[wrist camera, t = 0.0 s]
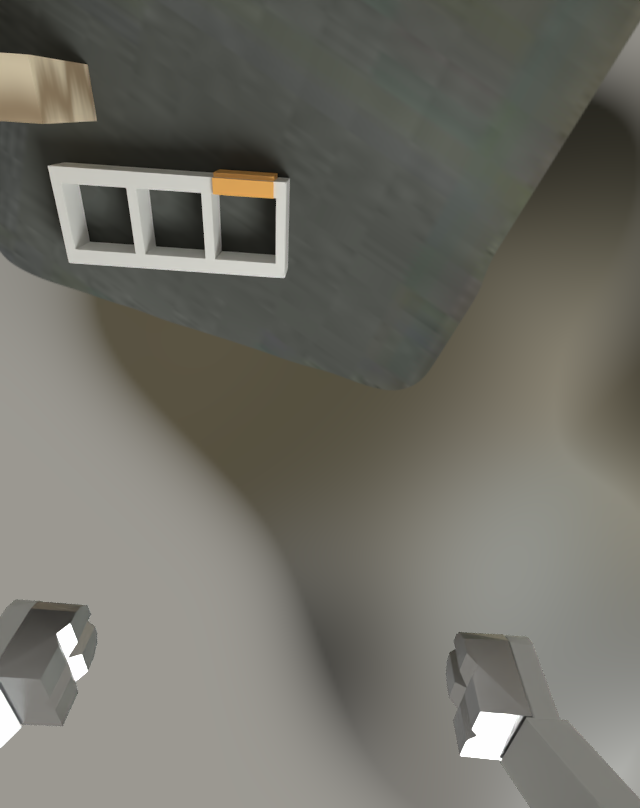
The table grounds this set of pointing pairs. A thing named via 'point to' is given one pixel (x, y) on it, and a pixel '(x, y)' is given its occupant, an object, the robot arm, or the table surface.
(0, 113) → the wooden block
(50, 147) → the table surface
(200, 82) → the table surface
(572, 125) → the table surface
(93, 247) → the rack
